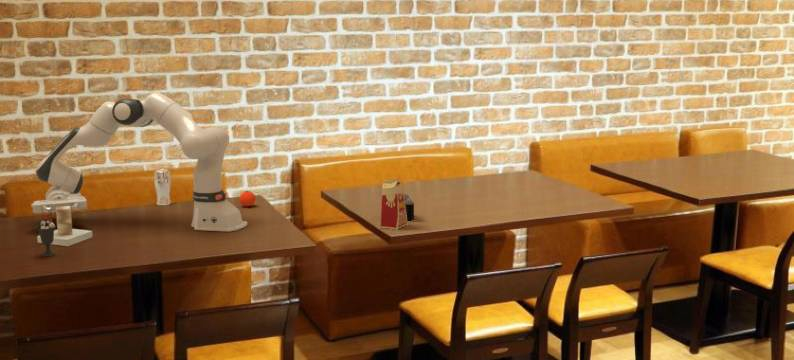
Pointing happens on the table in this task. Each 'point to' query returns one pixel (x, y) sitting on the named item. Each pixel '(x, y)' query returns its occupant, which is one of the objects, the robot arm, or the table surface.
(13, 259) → the table surface
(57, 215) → the beech block
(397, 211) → the milk carton
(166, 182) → the beer glass
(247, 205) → the clementine
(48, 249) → the sundae
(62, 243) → the trivet
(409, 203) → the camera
